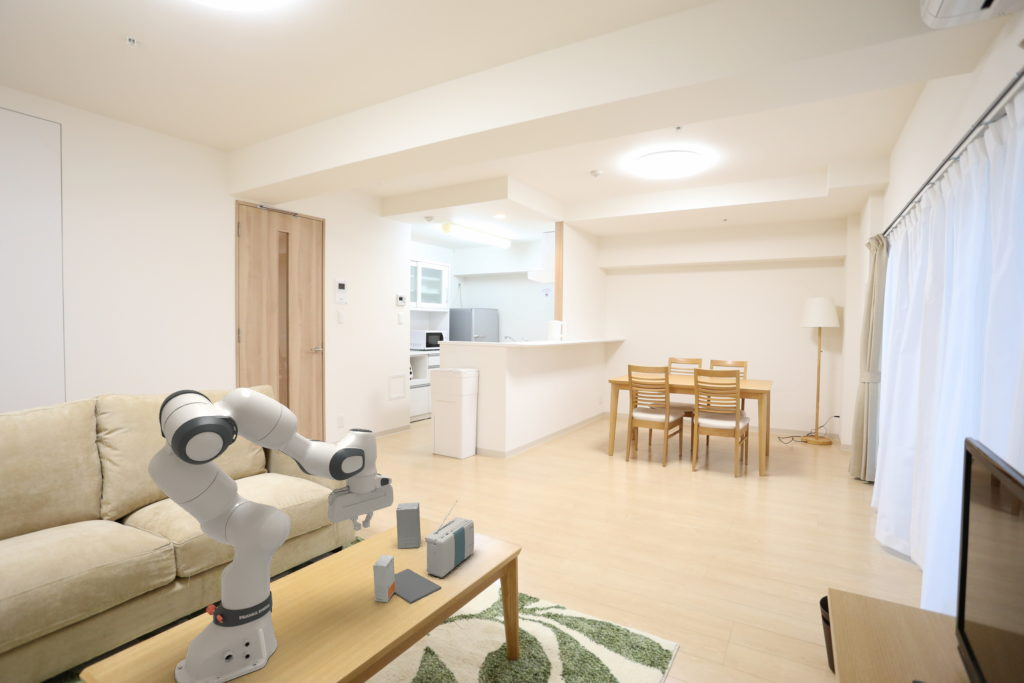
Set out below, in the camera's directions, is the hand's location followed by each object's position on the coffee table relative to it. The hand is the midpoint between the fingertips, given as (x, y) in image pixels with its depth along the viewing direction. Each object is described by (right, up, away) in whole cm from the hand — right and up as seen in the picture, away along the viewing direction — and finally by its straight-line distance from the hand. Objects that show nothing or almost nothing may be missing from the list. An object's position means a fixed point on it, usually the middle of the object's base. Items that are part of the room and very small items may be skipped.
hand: (361, 528), depth 148 cm
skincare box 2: (+5, -23, +43) cm, 49 cm away
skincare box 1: (+6, -24, +7) cm, 25 cm away
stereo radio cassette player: (+23, -24, +28) cm, 43 cm away
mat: (+11, -24, +13) cm, 30 cm away
